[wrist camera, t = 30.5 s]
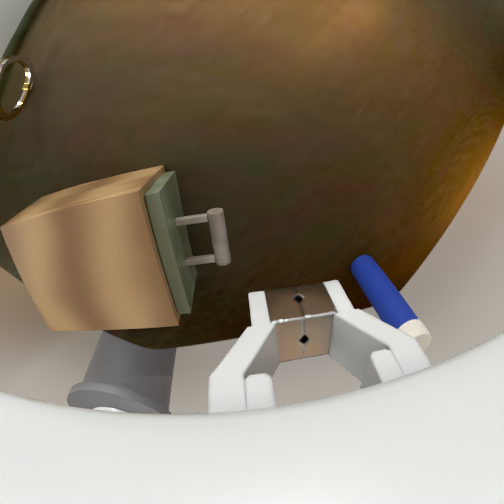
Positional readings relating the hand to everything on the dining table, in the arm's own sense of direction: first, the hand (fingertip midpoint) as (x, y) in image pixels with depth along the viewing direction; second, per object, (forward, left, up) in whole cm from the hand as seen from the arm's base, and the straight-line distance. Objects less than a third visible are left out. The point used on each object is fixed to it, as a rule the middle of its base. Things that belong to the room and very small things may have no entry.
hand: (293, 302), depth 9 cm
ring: (+15, +22, -20) cm, 34 cm away
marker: (-13, -13, -20) cm, 27 cm away
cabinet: (-5, +16, -20) cm, 26 cm away
